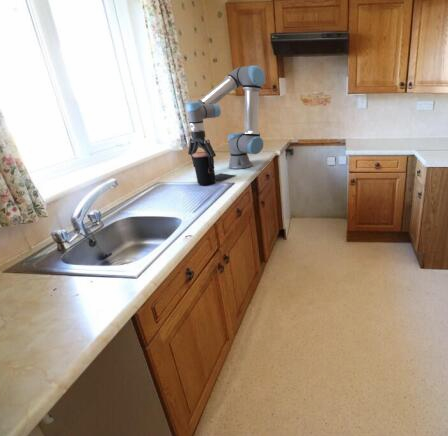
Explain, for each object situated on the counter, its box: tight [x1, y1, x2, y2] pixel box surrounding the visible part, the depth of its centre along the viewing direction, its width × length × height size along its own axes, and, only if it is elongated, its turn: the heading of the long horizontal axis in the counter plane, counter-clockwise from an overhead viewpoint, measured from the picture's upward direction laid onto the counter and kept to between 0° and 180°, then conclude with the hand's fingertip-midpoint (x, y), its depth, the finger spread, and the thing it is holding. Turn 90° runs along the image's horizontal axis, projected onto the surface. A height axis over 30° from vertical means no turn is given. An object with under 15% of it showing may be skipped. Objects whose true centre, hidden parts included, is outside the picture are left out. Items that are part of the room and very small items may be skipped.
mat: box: [215, 173, 236, 182], centre depth 205 cm, size 13×13×1 cm
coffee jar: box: [192, 151, 217, 187], centre depth 191 cm, size 11×11×18 cm
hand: (203, 167), depth 190 cm, fingers open, 13 cm apart
